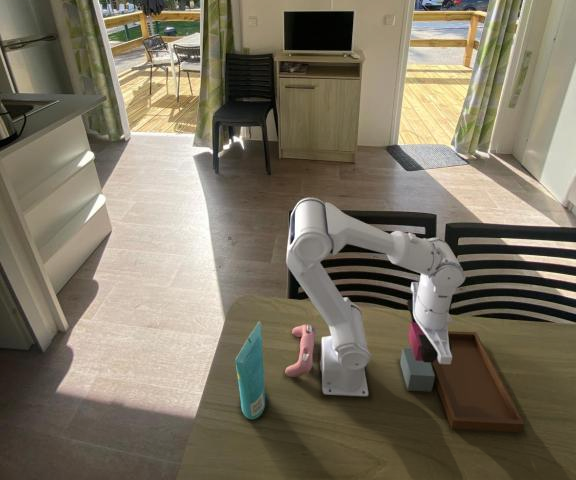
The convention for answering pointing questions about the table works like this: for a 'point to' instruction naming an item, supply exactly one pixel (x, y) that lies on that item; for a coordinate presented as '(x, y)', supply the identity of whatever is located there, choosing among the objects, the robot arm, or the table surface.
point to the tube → (251, 375)
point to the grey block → (416, 372)
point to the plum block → (416, 340)
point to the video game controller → (303, 351)
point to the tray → (474, 388)
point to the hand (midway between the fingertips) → (423, 346)
